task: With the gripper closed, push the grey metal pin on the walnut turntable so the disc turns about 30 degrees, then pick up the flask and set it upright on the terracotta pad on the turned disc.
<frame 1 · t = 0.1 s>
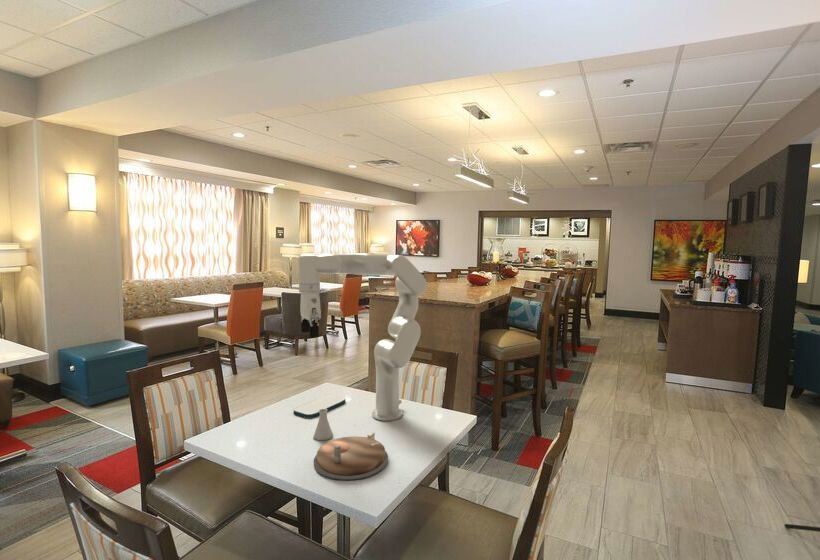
hand: (309, 334, 159), 37 cm above the table, tool pointing down, fingers open, 9 cm apart
turntable: (351, 446, 140), point 5 cm above the table, hinge at 0.0°
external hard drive: (320, 408, 187), on the table
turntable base: (351, 461, 140), on the table
flask: (323, 437, 158), on the table
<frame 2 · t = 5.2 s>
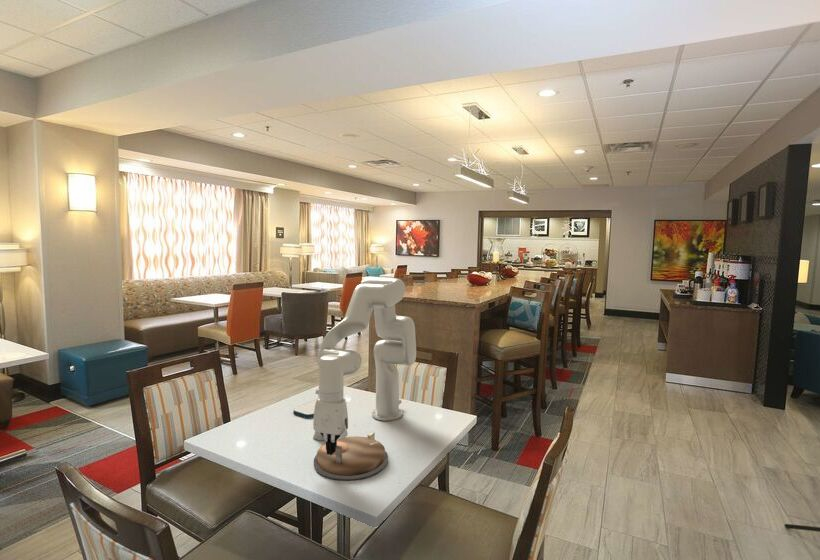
hand: (331, 452, 134), 6 cm above the table, tool pointing down, fingers closed
turntable: (351, 446, 140), point 5 cm above the table, hinge at 3.7°, touching gripper
everything else where it was.
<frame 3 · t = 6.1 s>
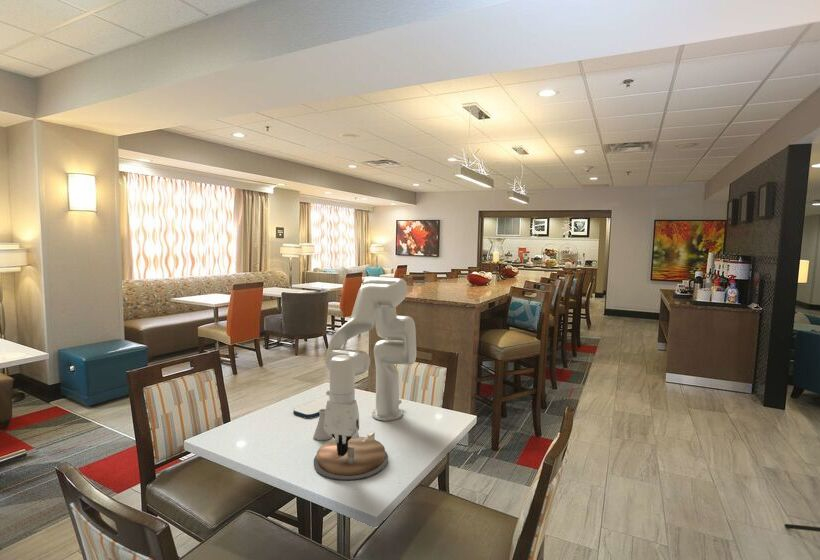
hand: (342, 453, 133), 6 cm above the table, tool pointing down, fingers closed
turntable: (351, 446, 140), point 5 cm above the table, hinge at 31.1°, touching gripper
everything else where it was.
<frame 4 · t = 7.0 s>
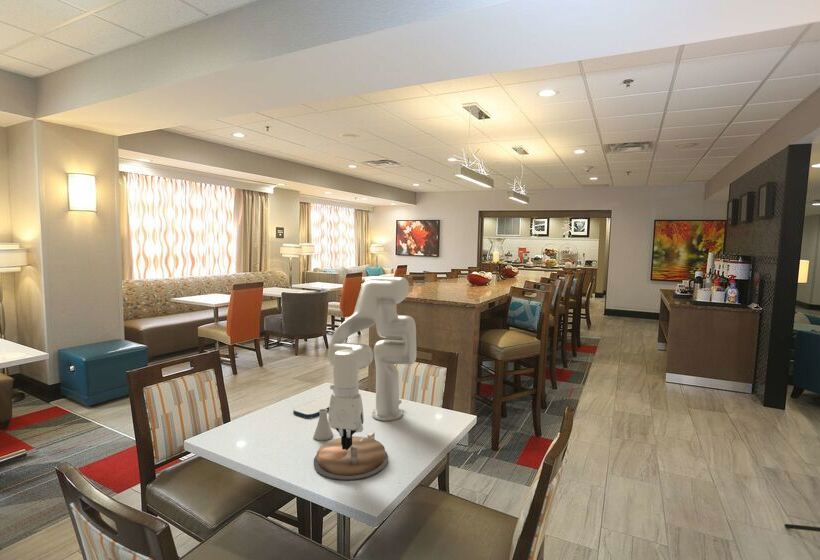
hand: (346, 447, 133), 8 cm above the table, tool pointing down, fingers closed
turntable: (351, 446, 140), point 5 cm above the table, hinge at 38.1°
everything else where it was.
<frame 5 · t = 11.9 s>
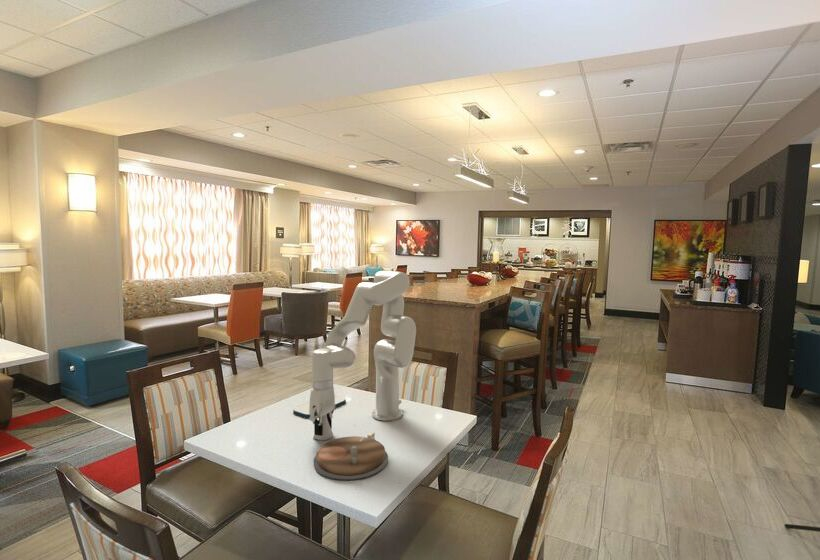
hand: (323, 431, 158), 2 cm above the table, tool pointing down, fingers closed on flask, 4 cm apart
flask: (323, 437, 158), on the table, touching gripper
everything else where it was.
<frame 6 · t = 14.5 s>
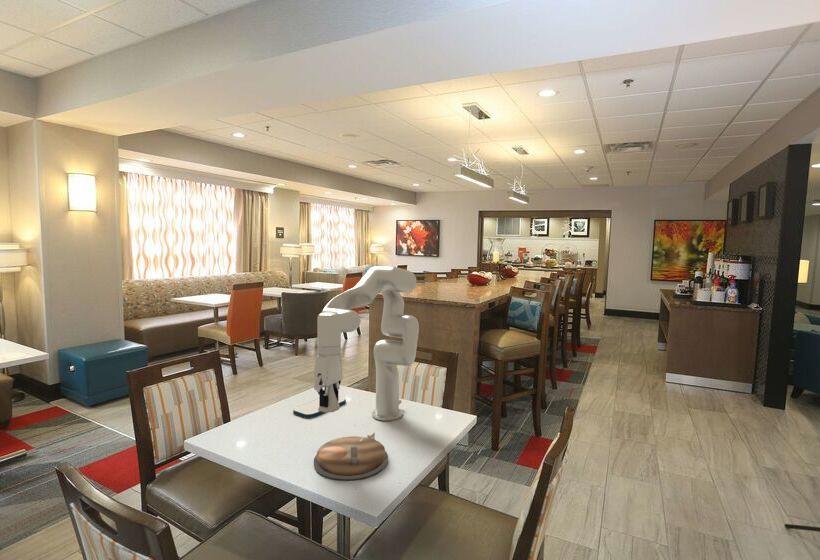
hand: (329, 403, 143), 18 cm above the table, tool pointing down, fingers closed on flask, 4 cm apart
flask: (328, 409, 143), point 16 cm above the table, touching gripper
everything else where it was.
when the fingers open (7 cm above the table, at t = 17.3 s): flask drops 1 cm, resting on turntable.
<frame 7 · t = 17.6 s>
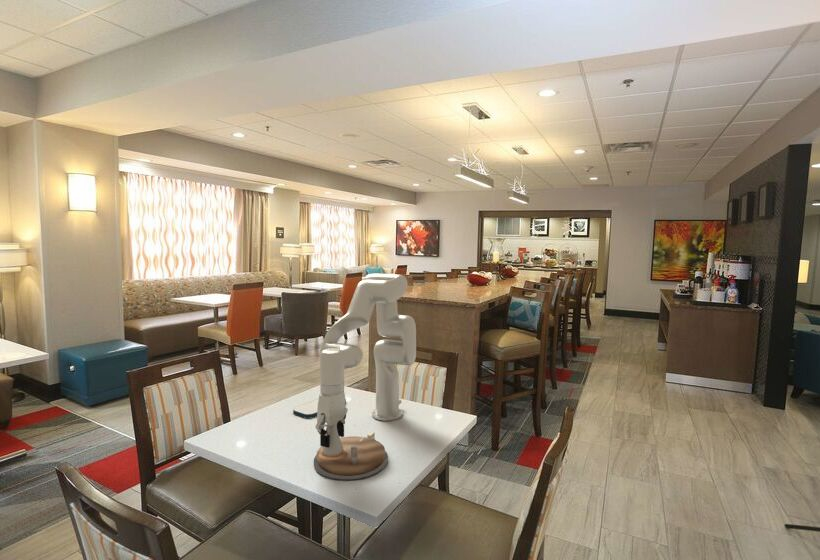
hand: (332, 440, 139), 7 cm above the table, tool pointing down, fingers open, 7 cm apart
turntable: (351, 446, 140), point 5 cm above the table, hinge at 38.2°, touching flask
flask: (332, 452, 140), point 3 cm above the table, touching turntable
everything else where it was.
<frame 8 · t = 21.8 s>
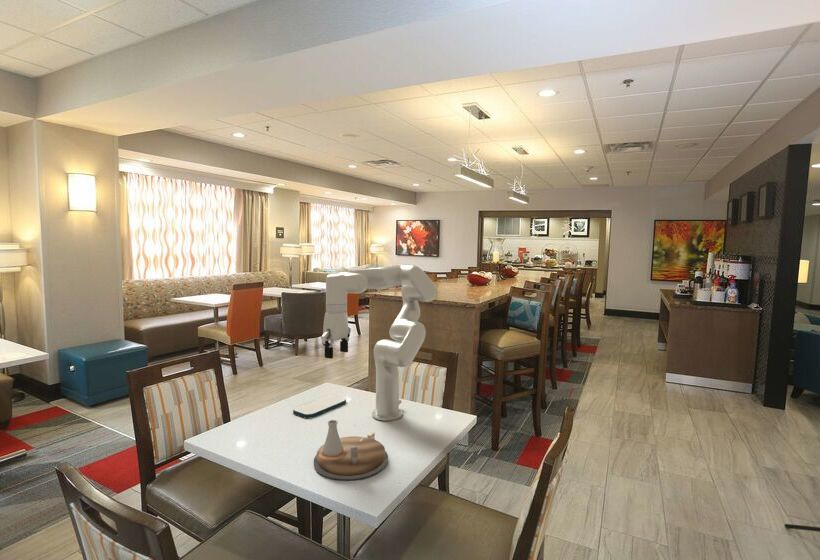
hand: (336, 354, 157), 30 cm above the table, tool pointing down, fingers open, 9 cm apart
nothing on the table moved.
at the end: turntable at +38° (first picture: +0°); flask 0.3 cm from the target spot on the turntable, point 3.2 cm above the turntable's base; flask tilted 0° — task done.
